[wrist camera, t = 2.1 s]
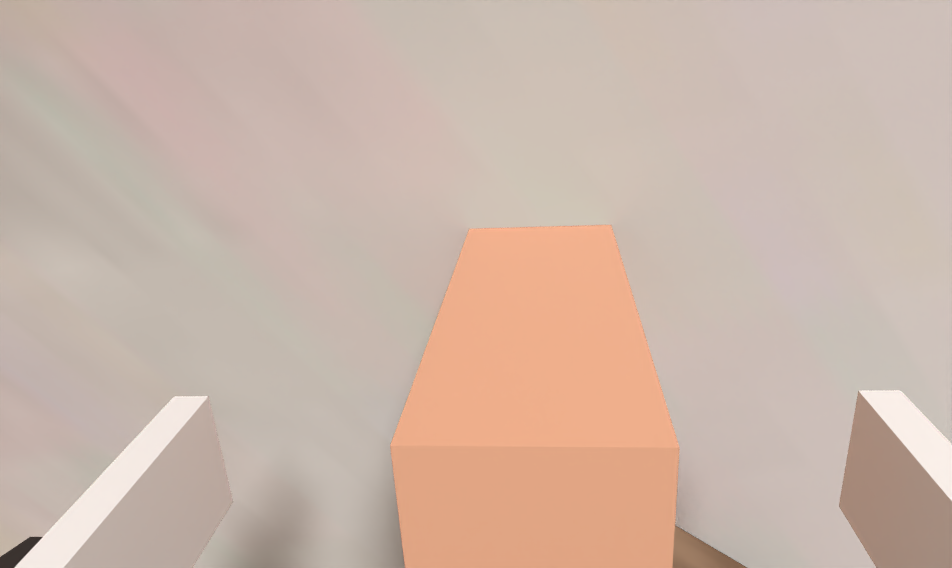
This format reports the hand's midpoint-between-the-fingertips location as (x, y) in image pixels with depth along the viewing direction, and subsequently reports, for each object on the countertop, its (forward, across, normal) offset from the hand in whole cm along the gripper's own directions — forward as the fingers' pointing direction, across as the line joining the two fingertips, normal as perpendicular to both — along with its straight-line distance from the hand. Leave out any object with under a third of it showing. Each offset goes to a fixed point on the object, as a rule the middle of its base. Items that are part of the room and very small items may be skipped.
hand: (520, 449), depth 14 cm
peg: (+9, 0, 0) cm, 9 cm away
